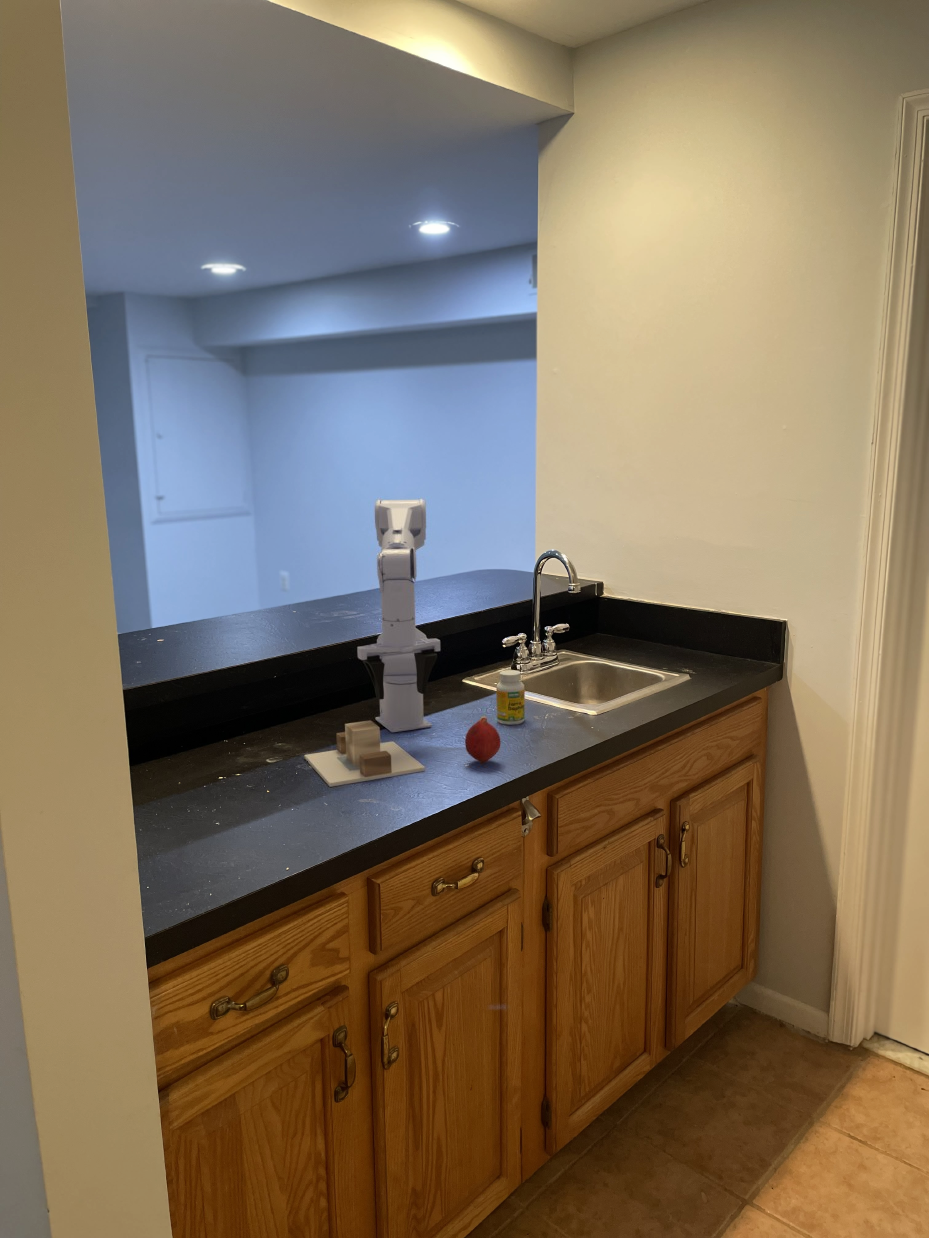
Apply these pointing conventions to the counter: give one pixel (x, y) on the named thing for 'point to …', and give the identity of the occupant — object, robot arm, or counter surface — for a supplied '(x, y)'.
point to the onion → (482, 741)
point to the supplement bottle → (510, 698)
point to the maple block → (361, 740)
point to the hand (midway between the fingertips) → (400, 695)
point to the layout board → (344, 772)
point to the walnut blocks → (368, 759)
